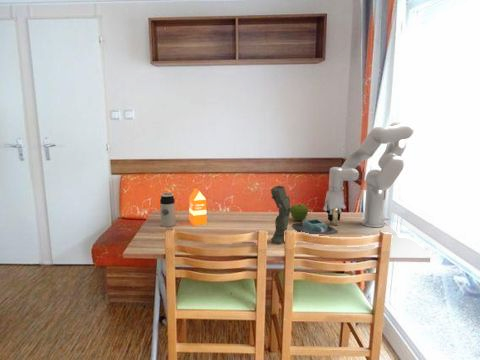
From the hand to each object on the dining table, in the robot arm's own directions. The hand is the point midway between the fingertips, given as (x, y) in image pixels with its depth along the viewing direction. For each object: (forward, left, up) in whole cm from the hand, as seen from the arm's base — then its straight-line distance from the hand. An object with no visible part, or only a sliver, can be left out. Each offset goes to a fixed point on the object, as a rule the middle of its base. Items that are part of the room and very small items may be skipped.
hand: (333, 220), depth 206 cm
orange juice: (+73, -28, -3) cm, 78 cm away
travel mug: (+90, -29, -3) cm, 95 cm away
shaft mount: (+15, +4, -3) cm, 16 cm away
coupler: (0, 0, -3) cm, 3 cm away
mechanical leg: (+40, +14, -3) cm, 42 cm away
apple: (+15, -14, -3) cm, 21 cm away
